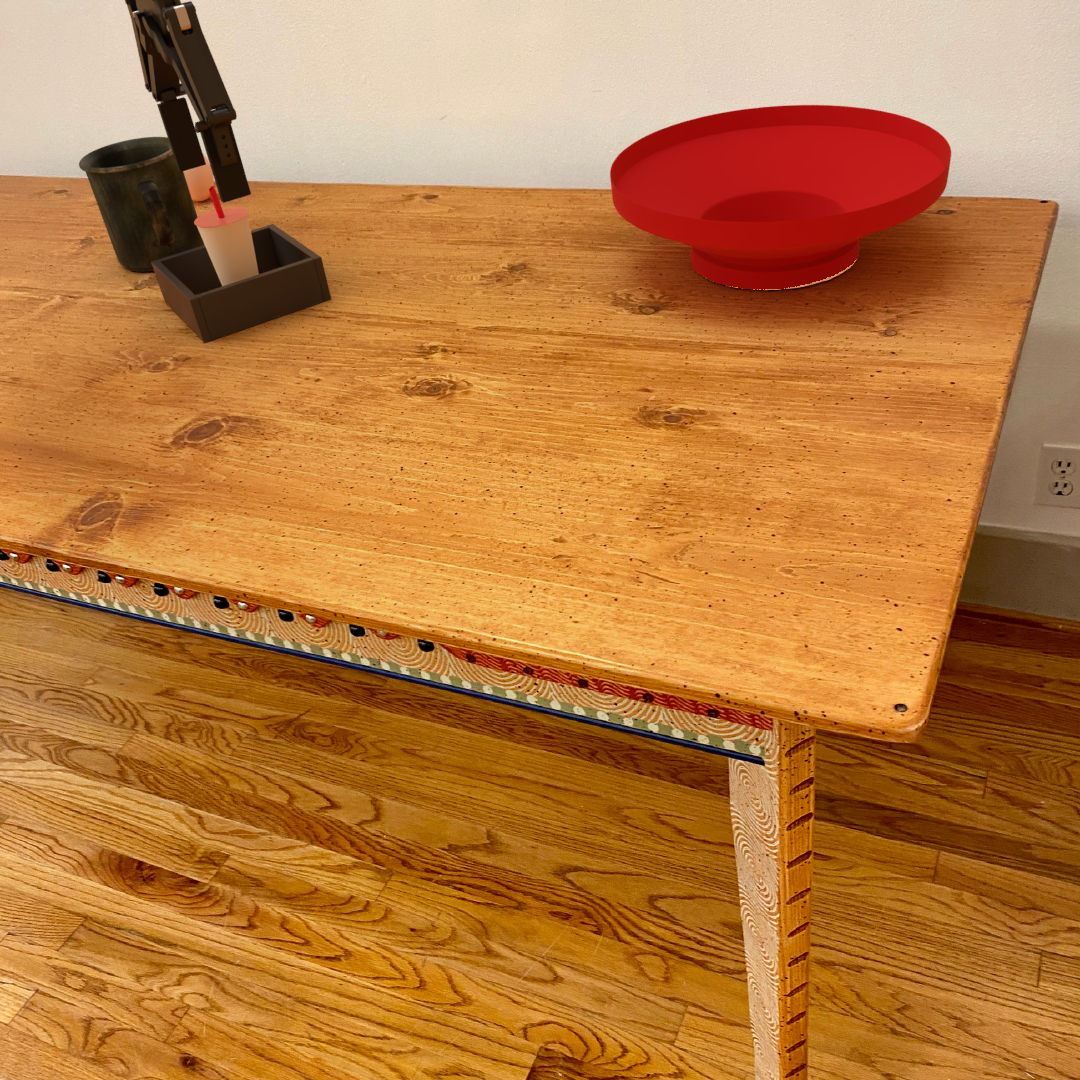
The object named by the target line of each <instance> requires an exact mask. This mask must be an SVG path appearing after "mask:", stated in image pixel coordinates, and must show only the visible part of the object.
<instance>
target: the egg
mask: <svg viewBox="0 0 1080 1080" xmlns="http://www.w3.org/2000/svg"><path fill="white" fill-rule="evenodd" d="M203 156H204V159H205V163H206V165H203V166H200V167H196V168H193V169H189V170H186V171H183V172H184V175H185V178H186V182H187V185H188V188H189V191H190V194H191V198H192V201H195V202H203V201H206V200H207V199H209V197H211V195H210V193H209V188H210V187H211V186H214V183H215V179H214V176H213V173H212V169H211V166H210V163H209V160H208V157H206V156H205V154H204V153H203Z"/></svg>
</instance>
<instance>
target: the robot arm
mask: <svg viewBox="0 0 1080 1080" xmlns="http://www.w3.org/2000/svg"><path fill="white" fill-rule="evenodd" d="M124 3H125V5H126V6H127V10H128V13H129V15H130V20H131V23H132V24H131V25H132V29H133V34H134V38H135V43H136V44H135V45H136V48H137V52H138V57H139V62H140V65H141V67H140V68H141V73H142V75H143V81H144V87H145V89H146V90H147V92H148V93H151V96H152V99H153V100H154V101H155V102H156V103H157V104H156V107H157V108H158V112H159V115H160V119H161V121H162V124H163V127H164V130H165V133H166V137H167V138H168V140H169V143H170V146H171V149H172V152H173V155H174V158H175V161H176V164H177V167H178V170H179V171H180V172H182V171H186V170H189V169H193V168H196V167H200V166H203V165H206V163H205V159H204V156H203V154H204V153H203V150H202V147H201V143H200V139H199V137H198V134H200V136H201V141H202V144H203V147H204V149H205V152H206V156H207V160H208V162H209V164H210V166H211V169H212V173H213V179H214V183H215V185H216V189H217V193H218V196H219V198H220V199H219V200H220V202H222V203H223V204H225V203H228V202H231V201H234V200H238V199H242V198H245V197H248V196H251V195H252V192H251V189H250V185H249V181H248V178H247V175H246V172H245V167H244V164H243V161H242V157H241V154H240V151H239V147H238V144H237V140H236V137H235V133H234V130H233V127H232V123H233V121H235V120H237V117H238V116H237V110H236V109H235V107H234V105H233V102H232V101H231V98H230V96H229V93H228V91H227V88H226V85H225V83H224V81H223V79H222V76H221V73H220V71H219V68H218V66H217V64H216V62H215V59H214V56H213V53H212V52H211V49H210V47H209V45H208V42H207V40H206V39H207V38H206V37H205V35H204V32H203V30H202V26H201V24H200V20H199V17H198V14H197V9H196V6H195V5H194V3H193V2H192V0H191V1H189V0H188V1H185V2H182V1H181V0H124ZM185 95H186V96H187V98H188V100H189V102H190V104H191V106H192V108H193V110H194V112H195V114H196V116H197V119H198V121H195V122H194V120H193V117H192V114H191V111H190V108H189V104H188V101H187V98H185V97H184V96H185ZM182 96H183V97H182Z"/></svg>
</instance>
